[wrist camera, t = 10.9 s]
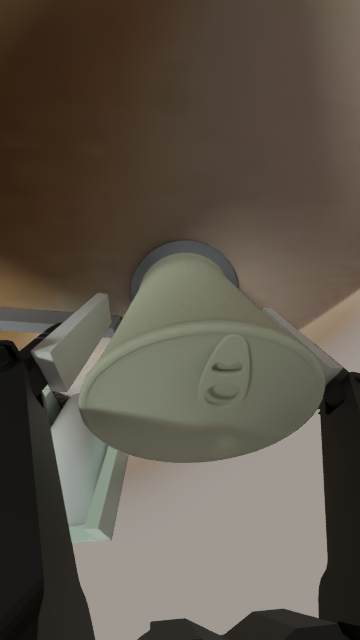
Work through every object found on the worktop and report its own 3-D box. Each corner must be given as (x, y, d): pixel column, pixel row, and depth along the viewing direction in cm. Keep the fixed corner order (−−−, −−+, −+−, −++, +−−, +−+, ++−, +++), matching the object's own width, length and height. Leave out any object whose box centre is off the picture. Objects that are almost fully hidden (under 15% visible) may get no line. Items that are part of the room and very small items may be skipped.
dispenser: (-5, 306, 16) (-400, 484, 5) (125, 316, 17) (39, 477, 6) (61, 422, 29) (-10, 546, 17) (134, 423, 30) (111, 540, 19)
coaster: (128, 232, 13) (126, 232, 12) (251, 247, 14) (254, 248, 13) (134, 335, 19) (132, 338, 18) (221, 341, 20) (222, 344, 19)
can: (241, 259, 14) (429, 351, 4) (216, 338, 19) (267, 475, 8) (138, 245, 13) (8, 316, 3) (139, 332, 18) (92, 476, 8)
